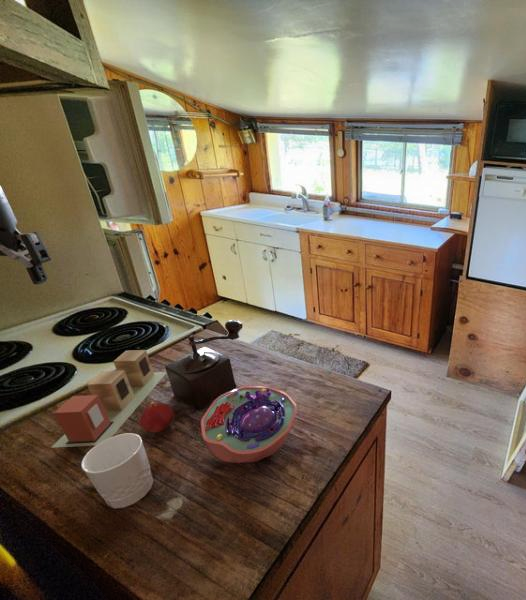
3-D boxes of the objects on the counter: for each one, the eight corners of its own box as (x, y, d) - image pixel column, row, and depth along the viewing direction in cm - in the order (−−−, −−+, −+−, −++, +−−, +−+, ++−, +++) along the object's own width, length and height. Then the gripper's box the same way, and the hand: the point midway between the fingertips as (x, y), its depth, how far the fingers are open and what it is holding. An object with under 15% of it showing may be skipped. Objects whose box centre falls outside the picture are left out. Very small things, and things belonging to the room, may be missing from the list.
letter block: (69, 442, 67) (53, 412, 63) (86, 424, 71) (72, 396, 68) (95, 440, 67) (81, 411, 64) (111, 423, 72) (98, 394, 68)
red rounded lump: (138, 437, 69) (126, 409, 66) (162, 418, 74) (152, 390, 71) (161, 443, 68) (150, 415, 65) (183, 423, 73) (174, 395, 70)
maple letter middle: (99, 412, 74) (86, 384, 71) (113, 397, 79) (102, 370, 75) (122, 411, 75) (111, 383, 72) (135, 396, 79) (125, 370, 76)
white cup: (98, 521, 54) (75, 481, 50) (106, 483, 60) (86, 444, 56) (156, 497, 58) (139, 459, 53) (158, 464, 64) (143, 426, 59)
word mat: (51, 449, 66) (50, 447, 66) (127, 374, 87) (127, 372, 87) (105, 446, 67) (104, 444, 67) (167, 373, 88) (167, 371, 88)
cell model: (267, 400, 81) (261, 363, 76) (316, 445, 69) (312, 405, 64) (193, 441, 69) (180, 400, 64) (236, 503, 57) (225, 459, 53)
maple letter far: (123, 387, 82) (113, 361, 79) (135, 375, 86) (125, 350, 83) (144, 386, 83) (135, 360, 79) (155, 374, 87) (146, 349, 84)
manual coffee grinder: (200, 413, 76) (181, 349, 68) (172, 396, 80) (152, 334, 73) (255, 377, 88) (245, 319, 81) (229, 364, 93) (216, 308, 85)
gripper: (38, 199, 63) (70, 276, 70) (-46, 197, 62) (-4, 276, 69) (0, 205, 57) (39, 290, 64) (-96, 203, 55) (-44, 290, 62)
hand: (17, 283), depth 66 cm, fingers open, 8 cm apart
